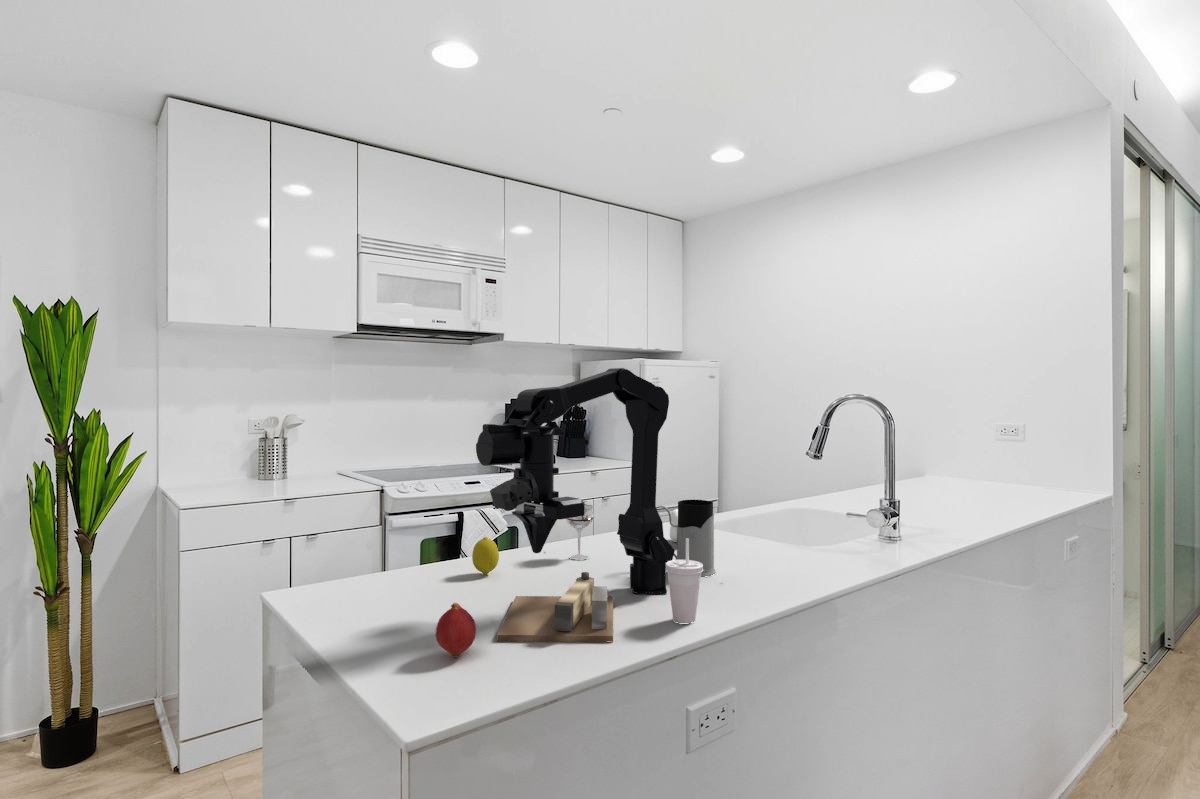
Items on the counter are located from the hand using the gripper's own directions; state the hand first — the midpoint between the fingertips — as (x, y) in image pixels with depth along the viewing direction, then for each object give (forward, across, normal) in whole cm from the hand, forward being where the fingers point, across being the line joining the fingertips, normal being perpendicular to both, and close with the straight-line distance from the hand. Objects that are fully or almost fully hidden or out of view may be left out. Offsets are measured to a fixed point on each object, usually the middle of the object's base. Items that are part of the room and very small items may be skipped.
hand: (536, 552), depth 117 cm
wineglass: (+11, -26, +33) cm, 43 cm away
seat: (+11, +4, +2) cm, 12 cm away
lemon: (+11, -28, +9) cm, 32 cm away
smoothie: (+11, +19, +17) cm, 28 cm away
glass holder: (+11, -1, +41) cm, 43 cm away
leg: (+10, +7, +3) cm, 12 cm away
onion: (+11, +6, -20) cm, 23 cm away
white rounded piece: (+11, -17, +63) cm, 66 cm away
